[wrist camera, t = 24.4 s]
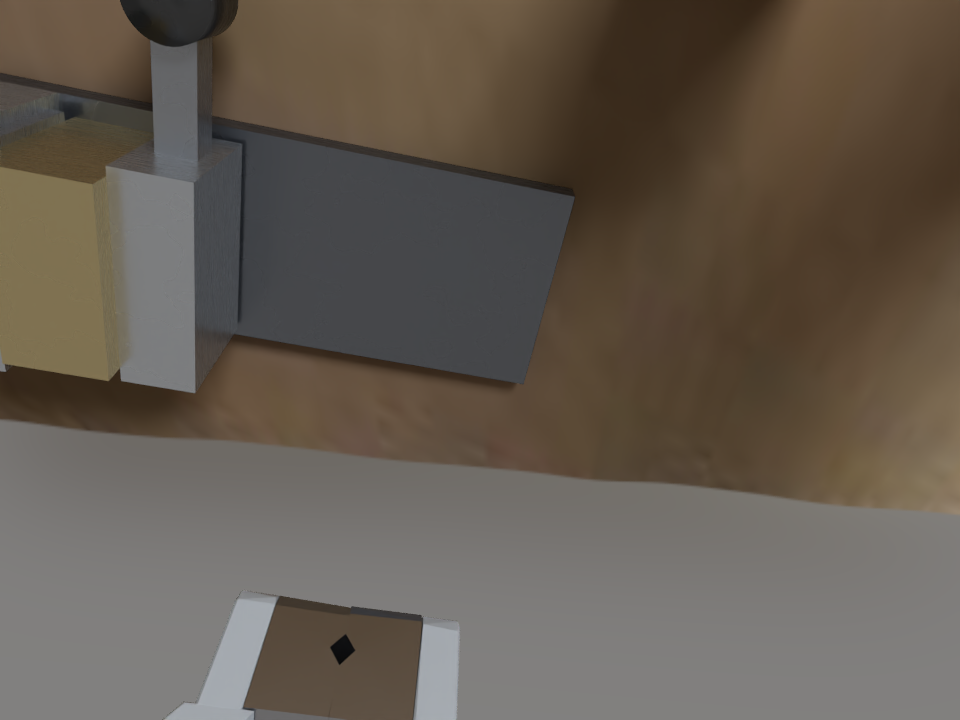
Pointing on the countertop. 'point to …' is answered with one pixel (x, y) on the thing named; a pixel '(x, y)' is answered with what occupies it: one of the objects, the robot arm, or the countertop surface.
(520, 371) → the vise bed
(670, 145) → the countertop surface
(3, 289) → the brass block
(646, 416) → the countertop surface
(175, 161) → the lever
